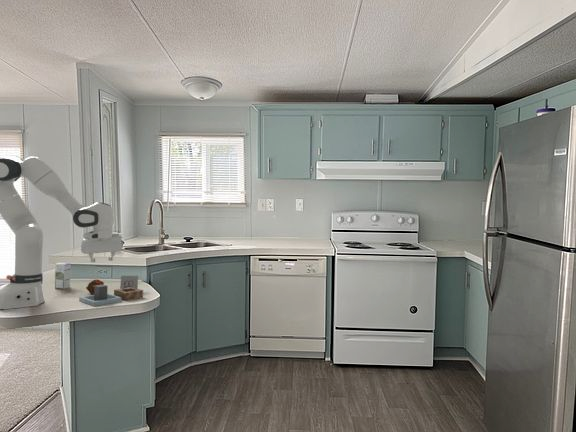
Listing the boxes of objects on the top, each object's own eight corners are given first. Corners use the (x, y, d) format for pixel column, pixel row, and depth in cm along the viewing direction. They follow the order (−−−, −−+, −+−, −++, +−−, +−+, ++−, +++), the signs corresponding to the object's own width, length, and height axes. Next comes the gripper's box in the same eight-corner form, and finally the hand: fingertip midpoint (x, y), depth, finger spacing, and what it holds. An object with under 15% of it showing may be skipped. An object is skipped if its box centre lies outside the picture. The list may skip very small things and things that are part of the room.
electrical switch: (119, 292, 229) (120, 275, 229) (121, 291, 234) (122, 275, 234) (137, 292, 231) (138, 276, 231) (138, 291, 236) (139, 275, 236)
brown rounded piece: (95, 299, 217) (92, 297, 227) (109, 288, 222) (105, 287, 232) (85, 286, 215) (82, 285, 225) (99, 276, 219) (96, 276, 230)
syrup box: (70, 287, 236) (71, 262, 236) (63, 289, 230) (64, 263, 230) (61, 286, 237) (61, 261, 236) (54, 288, 231) (55, 263, 230)
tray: (94, 306, 197) (94, 302, 197) (79, 300, 206) (79, 297, 206) (121, 301, 209) (121, 297, 209) (106, 296, 217) (106, 292, 217)
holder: (125, 300, 210) (125, 293, 210) (113, 297, 217) (114, 289, 216) (142, 297, 219) (143, 290, 219) (131, 294, 225) (131, 287, 225)
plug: (98, 302, 204) (99, 287, 204) (93, 301, 207) (94, 285, 207) (107, 301, 208) (107, 285, 208) (102, 299, 210) (102, 284, 210)
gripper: (118, 233, 217) (117, 258, 217) (79, 234, 200) (79, 262, 200) (124, 234, 213) (124, 260, 213) (86, 235, 196) (85, 263, 197)
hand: (101, 261), depth 207 cm, fingers open, 8 cm apart
